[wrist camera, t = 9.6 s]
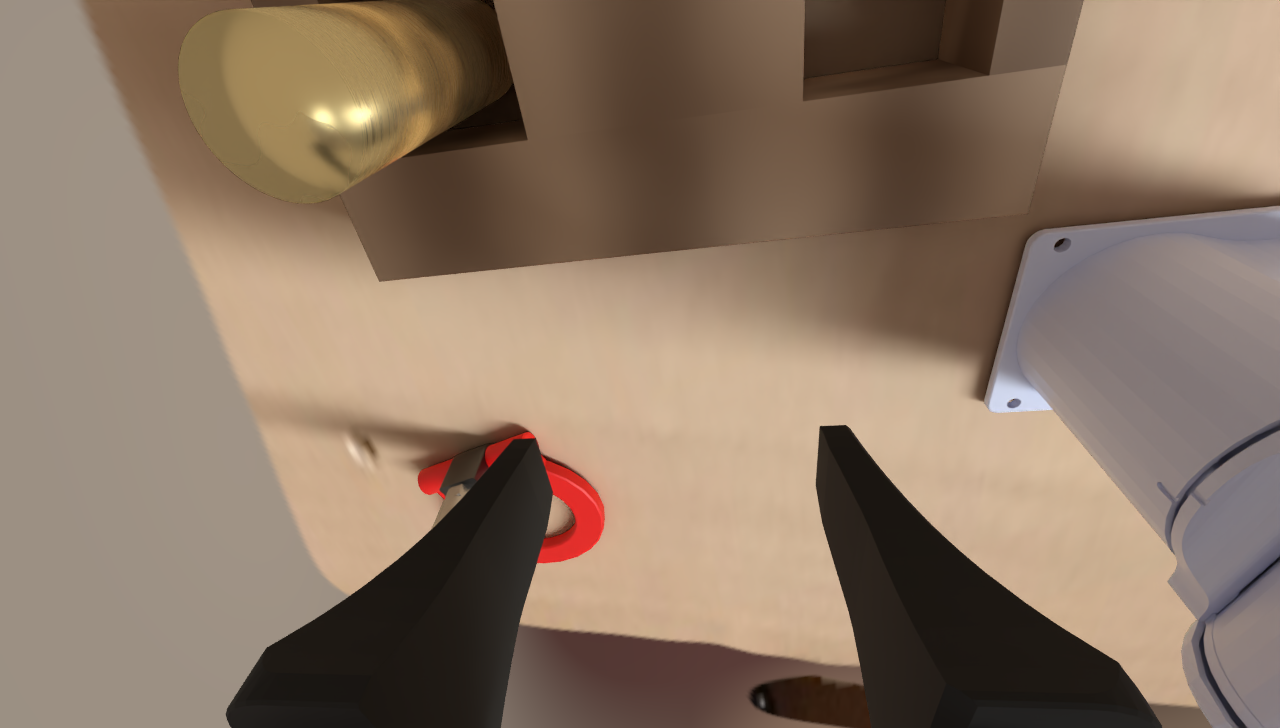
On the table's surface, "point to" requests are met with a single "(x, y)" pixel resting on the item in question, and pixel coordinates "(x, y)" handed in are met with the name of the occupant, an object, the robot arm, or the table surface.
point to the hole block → (716, 135)
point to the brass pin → (336, 86)
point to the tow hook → (572, 489)
